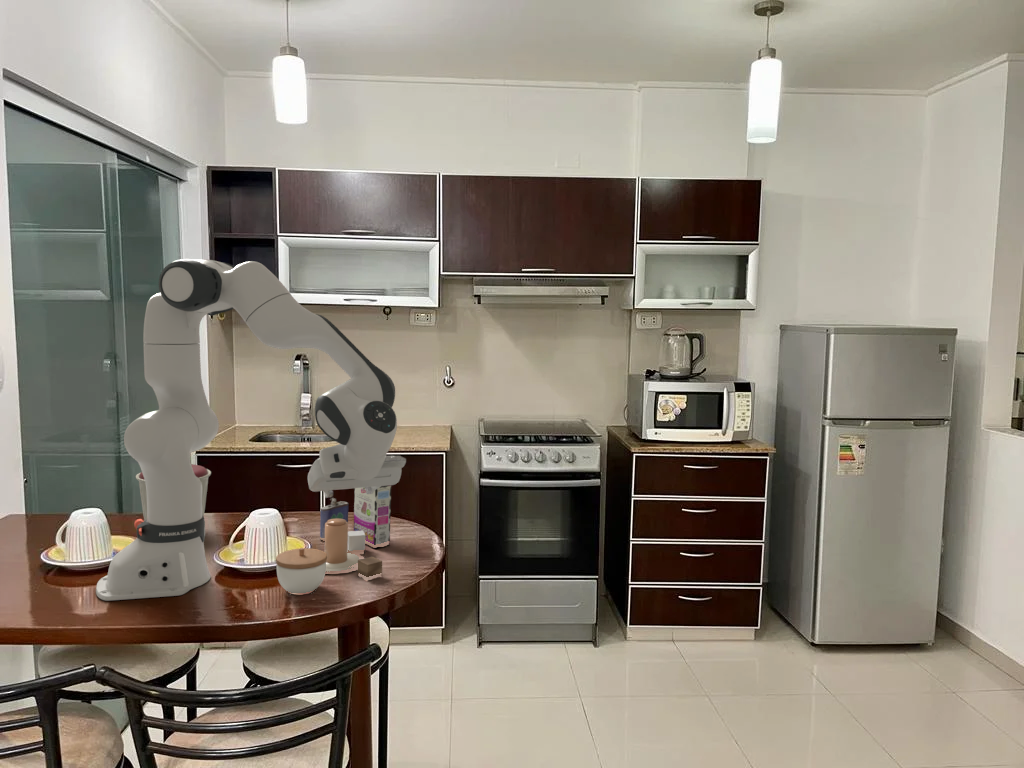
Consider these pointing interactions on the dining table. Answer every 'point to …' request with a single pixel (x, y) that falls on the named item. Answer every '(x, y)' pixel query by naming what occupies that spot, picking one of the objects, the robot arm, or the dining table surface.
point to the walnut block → (369, 566)
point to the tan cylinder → (336, 540)
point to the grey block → (356, 540)
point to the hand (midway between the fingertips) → (348, 493)
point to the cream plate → (350, 561)
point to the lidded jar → (301, 569)
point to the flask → (333, 513)
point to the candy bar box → (373, 514)
